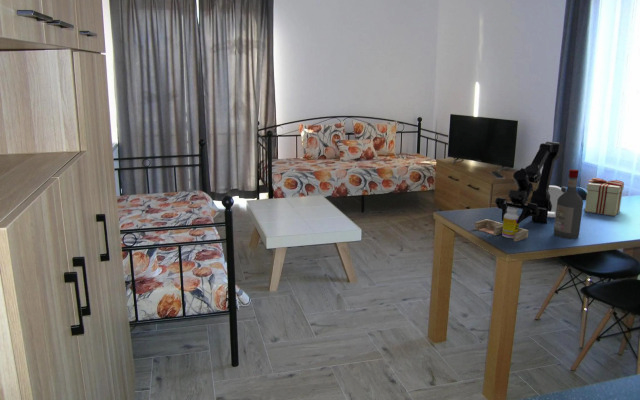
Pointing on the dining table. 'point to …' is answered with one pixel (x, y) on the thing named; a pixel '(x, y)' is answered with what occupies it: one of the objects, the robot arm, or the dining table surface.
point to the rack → (498, 229)
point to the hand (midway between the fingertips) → (509, 221)
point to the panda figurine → (555, 198)
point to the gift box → (604, 196)
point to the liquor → (569, 210)
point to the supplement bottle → (510, 223)
